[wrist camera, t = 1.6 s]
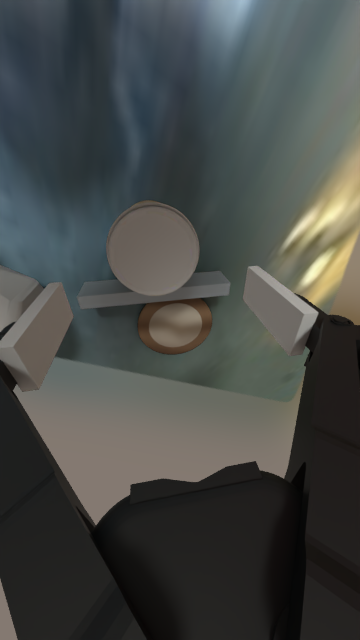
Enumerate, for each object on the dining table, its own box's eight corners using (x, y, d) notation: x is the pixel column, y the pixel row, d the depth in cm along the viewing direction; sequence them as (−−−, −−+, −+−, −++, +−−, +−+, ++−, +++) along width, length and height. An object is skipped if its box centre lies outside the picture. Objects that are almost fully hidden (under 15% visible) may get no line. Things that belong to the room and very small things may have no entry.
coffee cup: (159, 272, 35) (167, 312, 25) (104, 239, 31) (88, 270, 21) (194, 221, 31) (219, 243, 21) (137, 176, 27) (136, 177, 17)
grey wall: (84, 281, 34) (76, 296, 30) (220, 270, 36) (230, 283, 32) (87, 293, 35) (80, 309, 31) (219, 281, 37) (228, 294, 33)
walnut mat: (132, 294, 36) (132, 297, 35) (213, 287, 38) (214, 289, 37) (142, 355, 44) (142, 358, 43) (209, 347, 46) (210, 350, 45)
